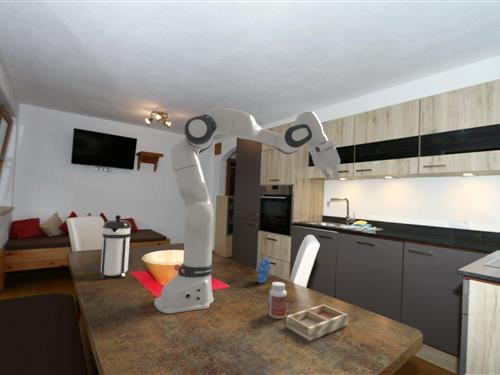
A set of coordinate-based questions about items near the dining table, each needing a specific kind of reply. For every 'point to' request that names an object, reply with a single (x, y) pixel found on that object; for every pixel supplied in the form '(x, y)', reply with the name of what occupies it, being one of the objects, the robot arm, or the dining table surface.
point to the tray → (316, 321)
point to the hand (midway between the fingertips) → (332, 177)
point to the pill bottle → (277, 300)
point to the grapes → (263, 270)
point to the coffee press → (115, 248)
